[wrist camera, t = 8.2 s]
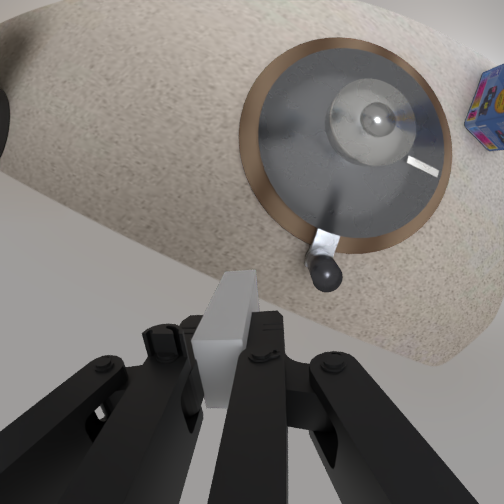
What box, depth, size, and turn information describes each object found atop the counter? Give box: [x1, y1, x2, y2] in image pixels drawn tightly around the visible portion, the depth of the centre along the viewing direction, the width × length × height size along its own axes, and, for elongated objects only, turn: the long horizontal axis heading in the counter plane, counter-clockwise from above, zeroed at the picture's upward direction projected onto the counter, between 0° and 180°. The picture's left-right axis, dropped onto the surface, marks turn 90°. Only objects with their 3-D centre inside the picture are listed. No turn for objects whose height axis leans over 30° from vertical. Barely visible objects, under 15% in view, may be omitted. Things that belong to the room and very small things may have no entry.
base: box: [239, 38, 452, 254], centre depth 29 cm, size 24×24×1 cm
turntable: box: [258, 48, 444, 292], centre depth 26 cm, size 20×24×6 cm
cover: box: [325, 79, 416, 166], centre depth 25 cm, size 8×8×5 cm
